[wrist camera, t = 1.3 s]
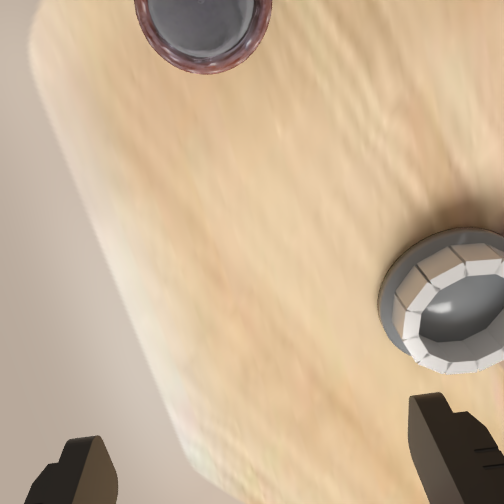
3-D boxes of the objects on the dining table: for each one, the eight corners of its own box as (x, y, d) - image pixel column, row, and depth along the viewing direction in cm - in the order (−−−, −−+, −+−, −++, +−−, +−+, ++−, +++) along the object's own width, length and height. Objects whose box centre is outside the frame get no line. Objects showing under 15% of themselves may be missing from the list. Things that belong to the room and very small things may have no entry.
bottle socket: (437, 202, 33) (459, 221, 30) (557, 264, 36) (588, 287, 33) (349, 325, 38) (360, 352, 35) (462, 371, 41) (481, 400, 38)
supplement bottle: (135, 0, 27) (81, -10, 17) (209, -84, 25) (198, -152, 15) (208, 80, 29) (200, 115, 19) (280, 8, 27) (312, 3, 17)
